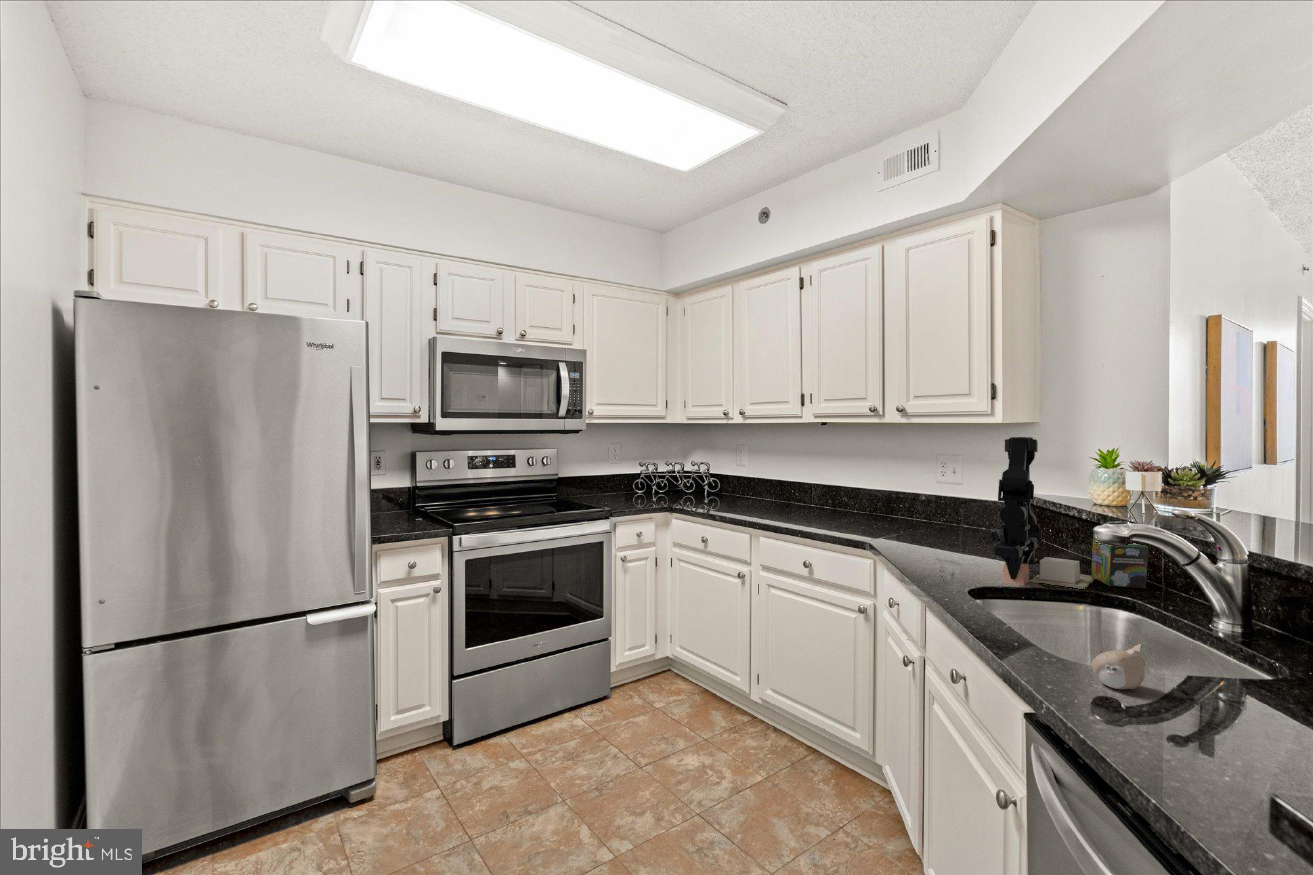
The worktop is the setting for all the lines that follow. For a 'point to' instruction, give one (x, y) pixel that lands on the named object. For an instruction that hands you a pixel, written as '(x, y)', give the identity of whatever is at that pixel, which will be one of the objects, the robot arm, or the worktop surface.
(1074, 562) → the base brick
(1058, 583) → the board
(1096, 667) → the beige toy figurine
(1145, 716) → the worktop surface
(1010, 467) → the robot arm
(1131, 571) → the chalk box
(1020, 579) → the pink cube
